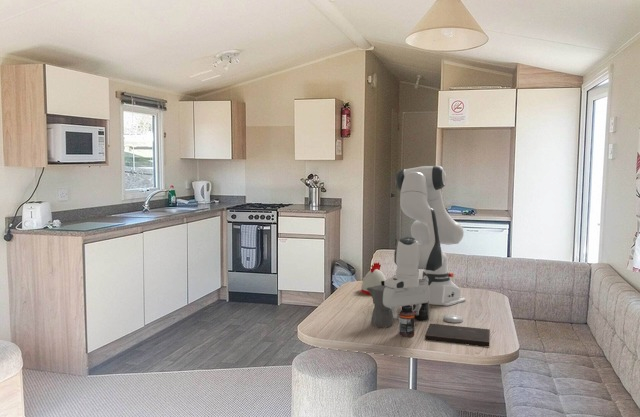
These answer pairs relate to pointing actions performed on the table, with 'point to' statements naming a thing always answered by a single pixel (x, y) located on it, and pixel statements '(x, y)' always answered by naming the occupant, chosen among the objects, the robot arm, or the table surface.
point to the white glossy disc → (453, 318)
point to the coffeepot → (380, 307)
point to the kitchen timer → (372, 278)
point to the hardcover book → (458, 334)
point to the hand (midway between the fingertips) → (406, 316)
